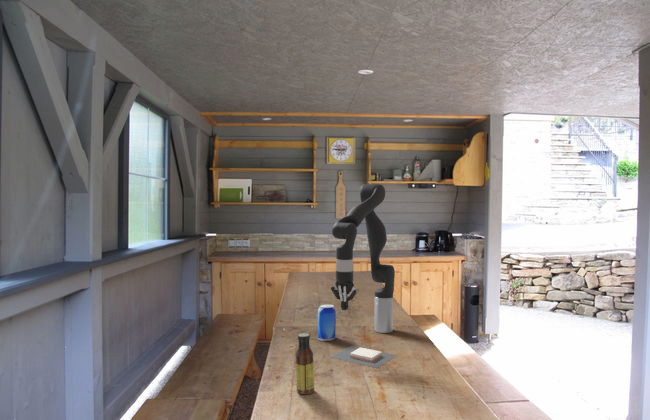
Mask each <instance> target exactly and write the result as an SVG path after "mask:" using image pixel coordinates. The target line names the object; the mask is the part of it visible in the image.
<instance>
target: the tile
mask: <svg viewBox="0 0 650 420" xmlns="http://www.w3.org/2000/svg"><path fill="white" fill-rule="evenodd" d="M381 356H382V351H379V350H374V349H371V348H370V349H369V348H365V347H360V348H358V349H357V350H355V351H353V352H351V353H350V358H354V359H359V360H363V361H368V362H373V361H375V360H376V359H378V358H379V357H381Z"/></svg>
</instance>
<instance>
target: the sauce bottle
mask: <svg viewBox="0 0 650 420" xmlns="http://www.w3.org/2000/svg"><path fill="white" fill-rule="evenodd" d="M310 337H311V336H310V334H309V333H306V332H302V333H299V334H297V340H298V347H297V350H296V352H295V380H296V381H295V382H296V384H295V386H296V392H297V393H298V394H300V395H305V396H306V395H311V394H313V393H314V392H315V362H314V352H313V351H312V349H311V347H310Z"/></svg>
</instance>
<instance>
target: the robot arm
mask: <svg viewBox="0 0 650 420" xmlns="http://www.w3.org/2000/svg"><path fill="white" fill-rule="evenodd" d="M359 198H360V203H358V204H357V205H355V206H354V207H352V208H351V209H350V210H349V212H348V213H347V214H346V215H345V216H343V217H342V218H340V219H339V220H337V221H336V222H335V223H334V225H333V226H332V229H331V234H332V236H333V238H335V239H336V240H345V242H344V243H343V244H339V245H337V246H336V248H335V249H336V250H335V251H336V255H335V256H336V258H335V259H336V260H335V284H334V286H331V287H330V290H331V291H332V293H333V295H334V297H335V298H336V300H339V301H340V308H341V310H342V311H347V310H348V309H349V302H350V301H352V300H353V299H354V298H355V296H357V294H358V292H359V288H356V287H355V284H354V252H353V251H354V246H355V243H356V239H357V235H358V227H359V226H360V225H361V224H362V223H363V221H364V220H365V221H364V222H365V227H366V228H365V229H366V235H367V242H368V249H369V256H370V257H369V258H370V271H371V272H370V274H371V278H372V280H373V282H375V283H381V284H384V286H383V287H382V288H379V289H376V290H375V291H374V312H373V313H374V318H373V319H374V321H373V322H374V331H375V332H376V333H381V334H388V333H392V332H393V331H394V292H395V277H396V274H395V268H394V266H393V264H392V265H391V264H383V263H382V264H381V262H380V256H381V253H382V251H383V250H384V248H385V246H386V245H387V244H386V243H387V241H388V239H387V231H386V226H385V224H384V223H383V221H382V220H381V219H380V217H379V216H378V215H377V213H376V211H375V209H376V208H377V207H378V206H380V205H381V204H382V203H383V201H384V200H385V198H386V189H385V187H384V185H383V184H379V183H364V184H362V185H361V186H360V189H359Z"/></svg>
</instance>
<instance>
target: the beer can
mask: <svg viewBox="0 0 650 420" xmlns="http://www.w3.org/2000/svg"><path fill="white" fill-rule="evenodd" d="M336 314H337V310H336V308H335V307H334V305H333V304H330V303H325V304H324V303H322V304H319V307H318V309H317V338H318V340H319V341H320V342H326V341H327V342H329V341H333V340H335V339H336V337H337V336H336V329H337V328H336V327H337V326H336V325H337V323H336V322H337V320H336V319H337V318H336V317H337V316H336Z"/></svg>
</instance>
